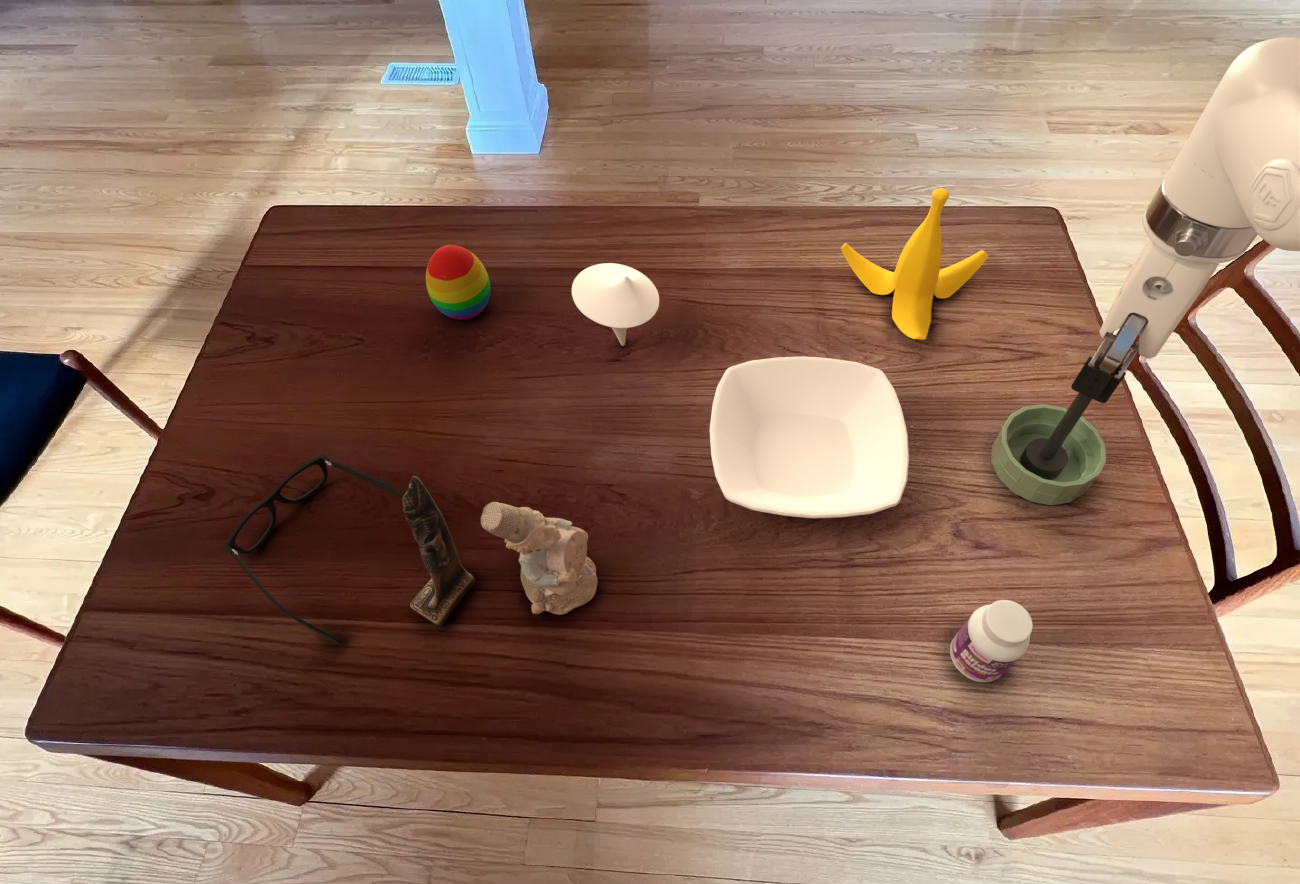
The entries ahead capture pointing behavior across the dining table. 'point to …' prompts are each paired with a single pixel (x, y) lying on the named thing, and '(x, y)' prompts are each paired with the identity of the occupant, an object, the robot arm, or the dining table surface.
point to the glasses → (269, 504)
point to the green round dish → (1079, 445)
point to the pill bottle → (991, 640)
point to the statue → (435, 556)
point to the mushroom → (615, 297)
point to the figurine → (545, 556)
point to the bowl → (809, 438)
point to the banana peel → (917, 273)
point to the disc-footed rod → (1055, 441)
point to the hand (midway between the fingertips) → (1108, 360)
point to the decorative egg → (457, 282)
